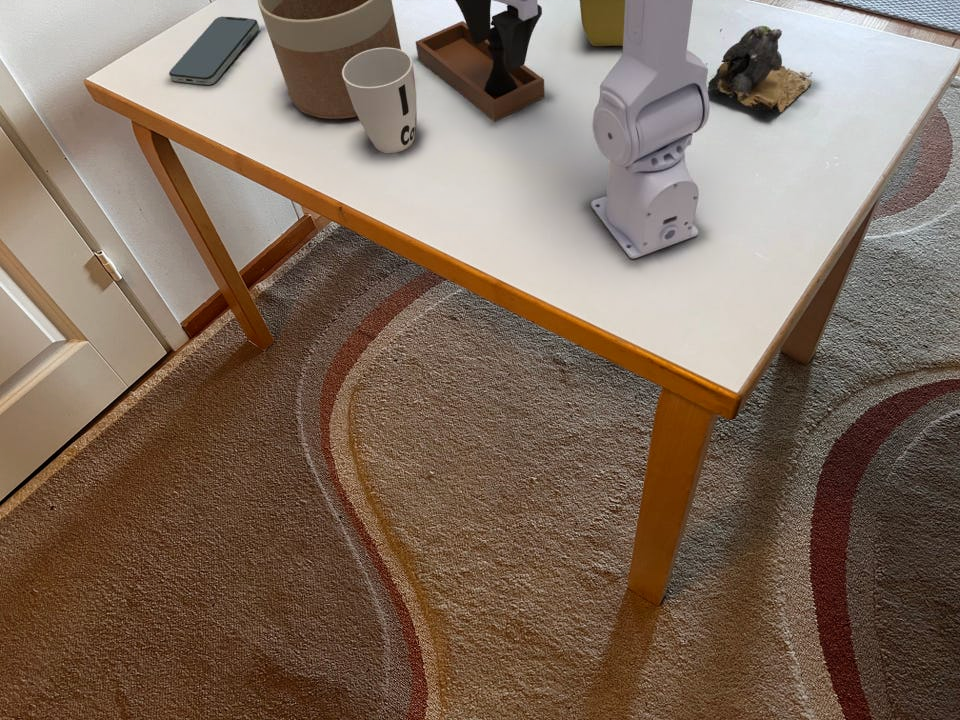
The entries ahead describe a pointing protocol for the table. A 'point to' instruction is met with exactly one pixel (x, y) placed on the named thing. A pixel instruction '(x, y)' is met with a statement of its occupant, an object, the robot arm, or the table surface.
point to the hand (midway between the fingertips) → (498, 53)
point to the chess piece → (498, 67)
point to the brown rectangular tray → (476, 71)
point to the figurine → (759, 72)
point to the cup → (383, 96)
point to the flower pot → (603, 21)
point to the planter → (325, 46)
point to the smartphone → (214, 50)
